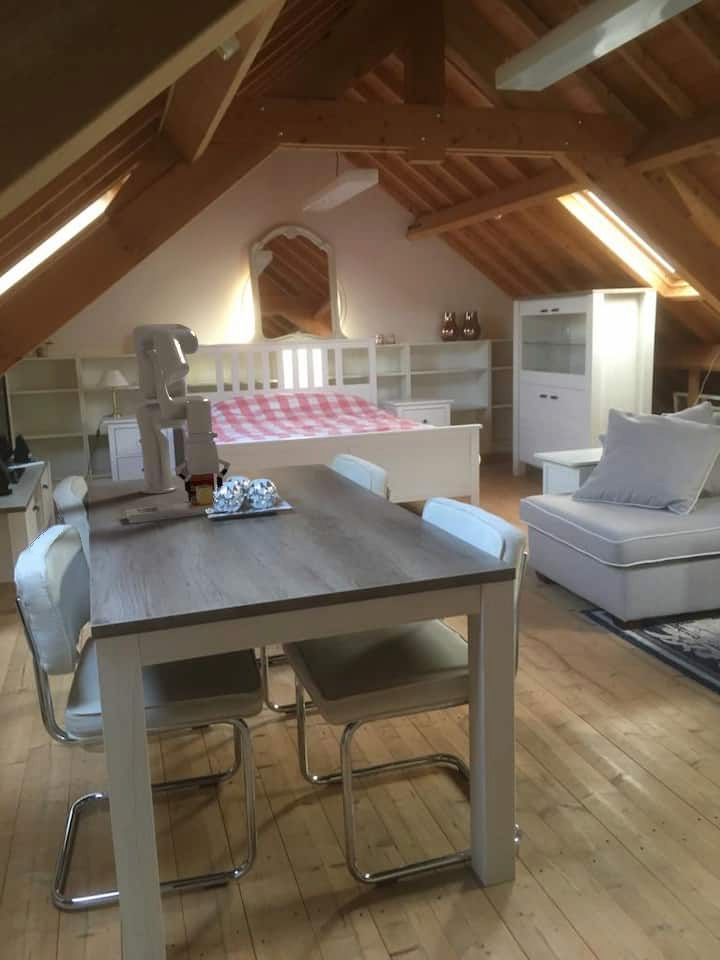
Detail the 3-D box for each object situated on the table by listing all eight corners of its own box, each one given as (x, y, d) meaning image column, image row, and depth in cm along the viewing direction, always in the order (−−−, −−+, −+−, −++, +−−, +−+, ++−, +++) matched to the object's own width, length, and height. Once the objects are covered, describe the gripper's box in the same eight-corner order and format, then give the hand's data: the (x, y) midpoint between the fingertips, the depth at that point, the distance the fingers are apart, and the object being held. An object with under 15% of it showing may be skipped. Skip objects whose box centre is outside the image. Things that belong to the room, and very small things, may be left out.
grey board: (126, 517, 252) (125, 509, 251) (221, 506, 263) (221, 498, 262) (130, 523, 243) (129, 514, 243) (228, 511, 254) (227, 503, 254)
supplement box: (190, 504, 268) (186, 456, 265) (188, 501, 272) (184, 454, 269) (216, 501, 270) (212, 454, 267) (214, 498, 275) (210, 452, 272)
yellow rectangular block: (197, 510, 258) (195, 486, 256) (211, 509, 259) (209, 484, 258) (200, 513, 254) (198, 488, 252) (214, 511, 255) (212, 486, 254)
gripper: (225, 434, 259) (228, 486, 262) (170, 438, 252) (174, 492, 256) (230, 437, 252) (234, 490, 255) (174, 441, 245) (178, 497, 249)
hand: (204, 491), depth 255 cm, fingers open, 9 cm apart
